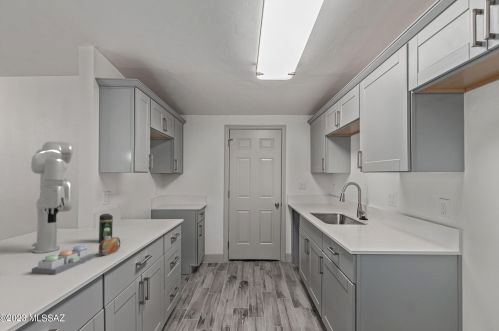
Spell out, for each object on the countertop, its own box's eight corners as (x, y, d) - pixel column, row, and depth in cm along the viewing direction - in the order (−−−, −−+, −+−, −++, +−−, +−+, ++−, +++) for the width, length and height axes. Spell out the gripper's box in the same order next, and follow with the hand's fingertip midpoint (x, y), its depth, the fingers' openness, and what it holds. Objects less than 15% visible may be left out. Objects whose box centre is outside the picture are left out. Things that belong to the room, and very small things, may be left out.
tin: (102, 257, 147) (102, 241, 147) (97, 257, 148) (97, 241, 148) (120, 250, 162) (121, 235, 162) (116, 249, 162) (116, 235, 163)
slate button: (70, 254, 140) (71, 248, 140) (78, 251, 145) (78, 245, 145) (79, 254, 140) (79, 248, 140) (86, 251, 145) (86, 246, 145)
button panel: (55, 274, 121) (56, 263, 121) (31, 273, 122) (32, 261, 122) (94, 257, 145) (94, 248, 146) (74, 256, 147) (74, 247, 147)
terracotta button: (57, 258, 132) (57, 252, 132) (65, 256, 137) (65, 249, 137) (66, 259, 131) (66, 253, 131) (74, 256, 136) (74, 250, 136)
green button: (41, 264, 123) (42, 257, 124) (51, 261, 128) (51, 254, 128) (51, 265, 123) (51, 258, 123) (60, 261, 128) (60, 255, 128)
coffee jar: (98, 240, 184) (98, 213, 185) (111, 239, 188) (111, 212, 189) (99, 243, 176) (100, 215, 177) (112, 242, 180) (113, 214, 181)
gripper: (32, 184, 127) (30, 223, 126) (61, 183, 125) (59, 223, 124) (46, 184, 134) (44, 221, 133) (73, 183, 132) (72, 221, 131)
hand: (51, 222), depth 128 cm, fingers closed
